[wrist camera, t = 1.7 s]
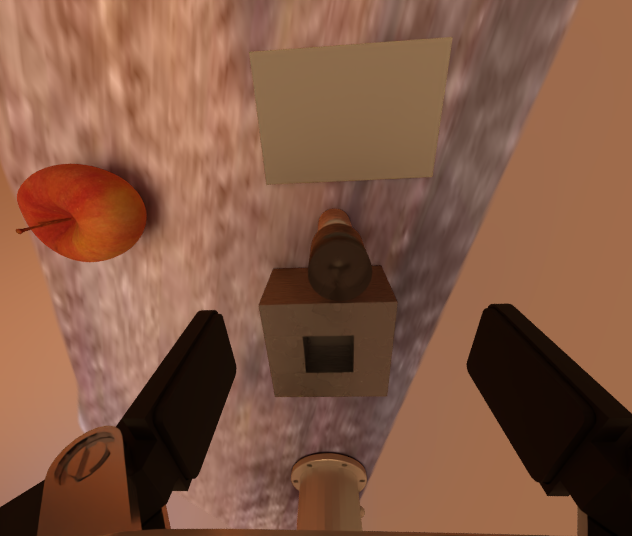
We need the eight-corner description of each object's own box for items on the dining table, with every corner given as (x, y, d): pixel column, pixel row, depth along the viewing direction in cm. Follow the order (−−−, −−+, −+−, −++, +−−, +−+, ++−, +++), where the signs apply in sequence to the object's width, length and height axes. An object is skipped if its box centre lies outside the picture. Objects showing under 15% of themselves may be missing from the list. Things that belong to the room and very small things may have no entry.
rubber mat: (429, 176, 22) (432, 176, 21) (267, 183, 23) (266, 184, 22) (448, 40, 18) (452, 37, 17) (251, 54, 19) (248, 51, 18)
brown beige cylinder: (362, 229, 24) (383, 281, 15) (328, 250, 25) (330, 310, 16) (340, 195, 23) (350, 231, 14) (306, 219, 24) (294, 266, 15)
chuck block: (375, 347, 31) (387, 396, 25) (284, 349, 31) (275, 396, 25) (381, 265, 26) (397, 301, 20) (273, 268, 26) (258, 305, 20)
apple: (178, 233, 25) (119, 270, 18) (111, 245, 26) (29, 286, 19) (141, 151, 22) (51, 157, 15) (66, 169, 23) (-54, 183, 15)
